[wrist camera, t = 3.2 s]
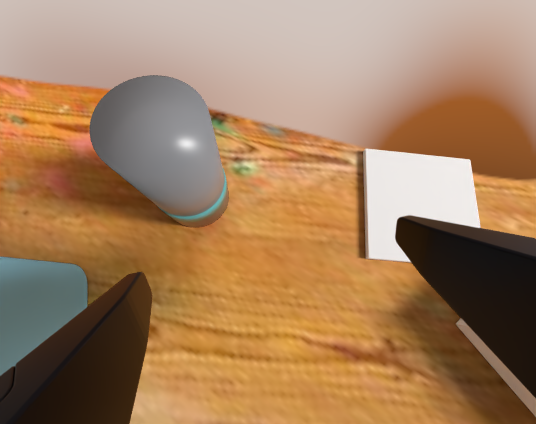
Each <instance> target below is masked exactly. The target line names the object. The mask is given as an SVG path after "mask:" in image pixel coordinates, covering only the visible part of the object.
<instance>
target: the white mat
mask: <svg viewBox="0 0 536 424" xmlns="http://www.w3.org/2000/svg"><path fill="white" fill-rule="evenodd" d="M363 167H364V207H365V246H366V259H375V260H386V261H398V262H409V263H412V262H411V261H410V260H409V259H408V257H407V256H406V255H405V253H404V252H403V251H402V249H401V248H400V247H399V245H398V244H397V242H396V240H395V233H396V223H397V219H398V218H399V217H402V216H407V215H412V216H417V217H423V218H428V219H434V220H439V221H444V222H450V223H455V224H461V225H466V226H471V227H477V228H480V222H479V215H478V208H477V202H476V195H475V189H474V182H473V175H472V169H471V162H470V160H469V159H459V158H449V157H440V156H431V155H421V154H412V153H403V152H393V151H384V150H374V149H365V150H364V151H363Z"/></svg>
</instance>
